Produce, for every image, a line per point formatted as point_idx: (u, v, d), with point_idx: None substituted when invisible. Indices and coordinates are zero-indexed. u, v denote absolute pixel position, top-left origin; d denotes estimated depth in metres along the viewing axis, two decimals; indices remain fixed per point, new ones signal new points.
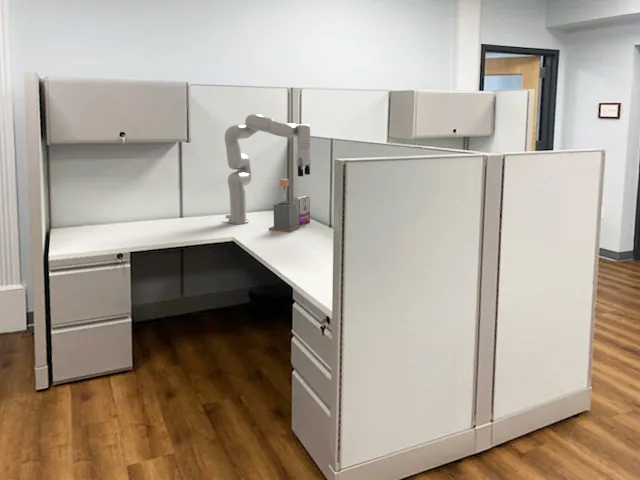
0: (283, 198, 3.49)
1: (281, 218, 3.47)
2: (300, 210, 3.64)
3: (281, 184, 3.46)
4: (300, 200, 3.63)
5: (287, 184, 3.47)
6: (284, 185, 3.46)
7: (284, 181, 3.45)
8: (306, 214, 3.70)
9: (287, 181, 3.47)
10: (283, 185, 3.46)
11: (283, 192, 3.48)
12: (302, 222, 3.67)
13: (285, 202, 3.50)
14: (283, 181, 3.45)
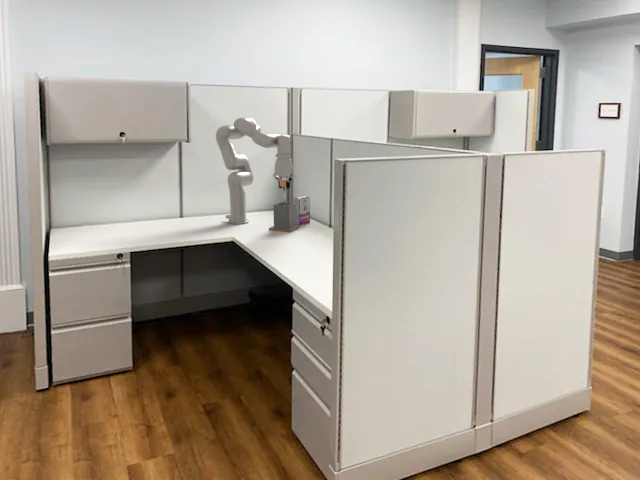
0: (283, 198, 3.49)
1: (281, 218, 3.47)
2: (300, 210, 3.64)
3: (281, 184, 3.46)
4: (301, 200, 3.63)
5: None
6: (284, 185, 3.46)
7: (284, 181, 3.45)
8: (306, 214, 3.70)
9: None
10: (283, 185, 3.46)
11: (283, 192, 3.48)
12: (302, 222, 3.67)
13: (285, 202, 3.50)
14: (283, 181, 3.45)
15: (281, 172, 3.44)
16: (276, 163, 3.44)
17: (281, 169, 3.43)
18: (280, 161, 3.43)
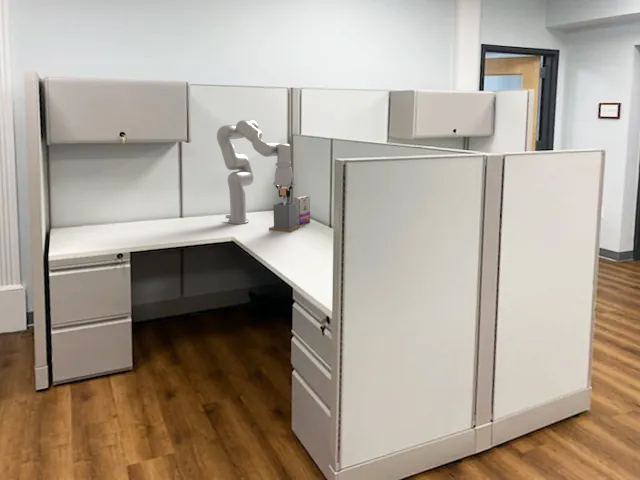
0: None
1: (281, 218, 3.47)
2: (300, 210, 3.64)
3: (281, 193, 3.47)
4: (301, 200, 3.63)
5: None
6: (284, 194, 3.47)
7: (284, 190, 3.46)
8: (306, 214, 3.70)
9: None
10: (283, 194, 3.47)
11: (283, 201, 3.50)
12: (302, 222, 3.67)
13: None
14: (283, 190, 3.47)
15: (281, 181, 3.45)
16: (276, 172, 3.45)
17: (281, 178, 3.44)
18: (280, 170, 3.44)
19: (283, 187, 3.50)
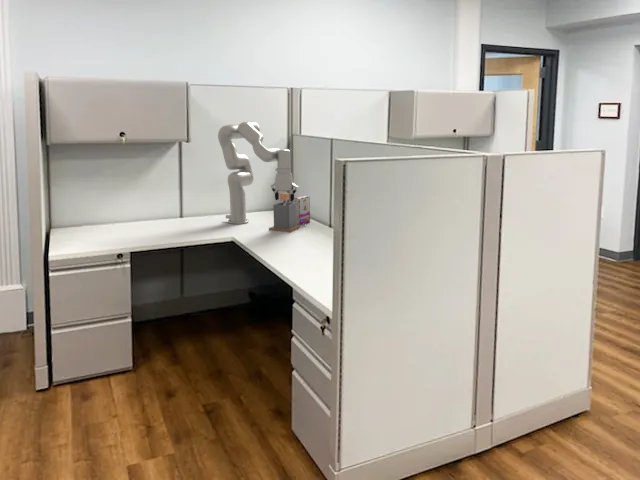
0: None
1: (281, 218, 3.47)
2: (300, 210, 3.64)
3: (281, 198, 3.48)
4: (301, 200, 3.63)
5: (287, 198, 3.49)
6: (284, 199, 3.47)
7: (284, 195, 3.47)
8: (306, 214, 3.70)
9: (287, 195, 3.49)
10: (283, 199, 3.48)
11: None
12: (302, 222, 3.67)
13: None
14: (283, 195, 3.47)
15: (281, 187, 3.46)
16: (276, 177, 3.46)
17: (281, 183, 3.45)
18: (280, 175, 3.45)
19: None
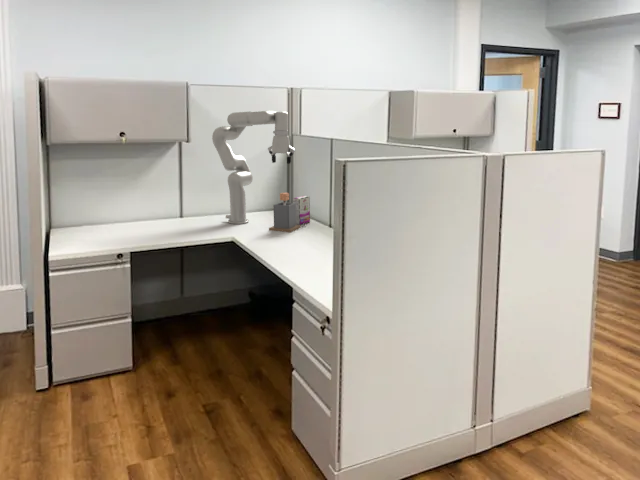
0: None
1: (281, 218, 3.47)
2: (300, 210, 3.64)
3: (281, 198, 3.48)
4: (301, 200, 3.63)
5: (287, 198, 3.49)
6: (284, 199, 3.47)
7: (284, 195, 3.47)
8: (306, 214, 3.70)
9: (287, 195, 3.49)
10: (283, 199, 3.48)
11: None
12: (302, 222, 3.67)
13: None
14: (283, 195, 3.47)
15: (278, 149, 3.46)
16: (273, 139, 3.46)
17: (278, 145, 3.45)
18: (277, 138, 3.45)
19: None
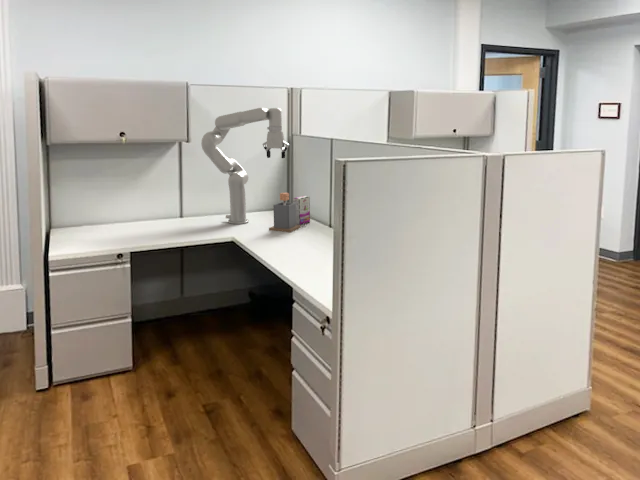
0: None
1: (281, 218, 3.47)
2: (300, 210, 3.64)
3: (281, 198, 3.48)
4: (300, 200, 3.63)
5: (287, 198, 3.49)
6: (284, 199, 3.47)
7: (284, 195, 3.47)
8: (306, 214, 3.70)
9: (287, 195, 3.49)
10: (283, 199, 3.48)
11: None
12: (302, 222, 3.67)
13: None
14: (283, 195, 3.47)
15: (272, 144, 3.58)
16: (268, 135, 3.58)
17: (273, 141, 3.57)
18: (272, 133, 3.56)
19: None
